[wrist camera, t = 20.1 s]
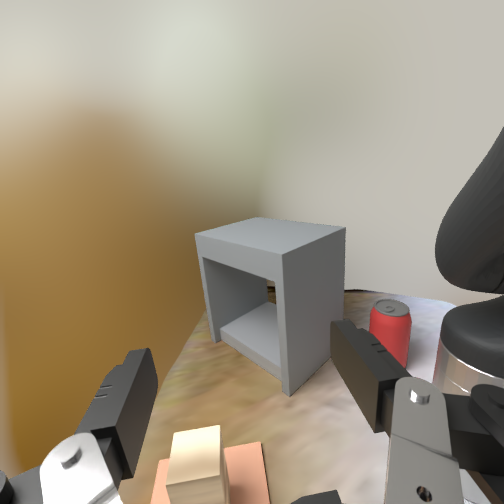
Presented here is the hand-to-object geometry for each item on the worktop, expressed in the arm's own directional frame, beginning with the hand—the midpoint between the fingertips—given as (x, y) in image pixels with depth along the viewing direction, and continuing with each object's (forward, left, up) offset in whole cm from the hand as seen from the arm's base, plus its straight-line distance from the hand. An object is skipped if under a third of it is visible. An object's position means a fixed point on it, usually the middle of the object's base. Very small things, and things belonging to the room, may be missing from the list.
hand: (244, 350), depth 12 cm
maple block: (+6, -10, -29) cm, 32 cm away
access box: (-8, -39, -30) cm, 50 cm away
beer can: (-27, -28, -30) cm, 49 cm away
